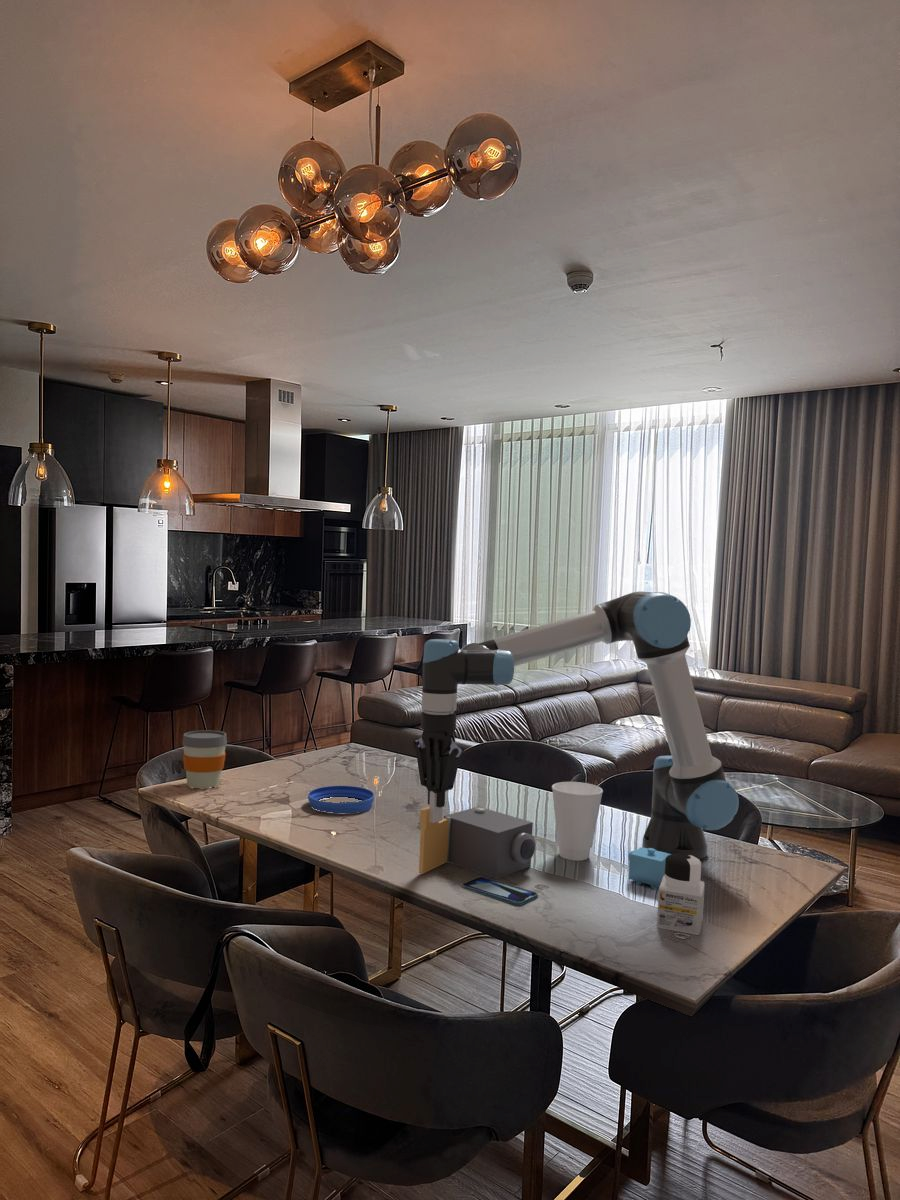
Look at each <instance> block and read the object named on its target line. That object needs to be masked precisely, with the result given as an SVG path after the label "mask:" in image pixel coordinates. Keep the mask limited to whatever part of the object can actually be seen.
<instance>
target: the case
mask: <svg viewBox="0 0 900 1200" xmlns="http://www.w3.org/2000/svg"><path fill="white" fill-rule="evenodd" d="M445 817H451V821H450V843H449V862H448V863H450V864H454V865H456V866H458V867H461V868H464V869H467V870H470V871H473V872H476V873H478V874H480V875H484V876H487V878H488V877H489V878H490V879H493V880H498V879H501V878H504V877H507V876H509V875H512V874H514V873H515V874H516V873H517V872H520V871H522V870H525V869H529V868H531V867H532V866H531V864H532V858H533V856H534V854H535V851H536V839H535V836H534V835H533V827H534V826H533V823H534V822H532V821H529V820H526V819H524V818H523V819H522V818H519V817H516V816H513V815H508V814H505V813H502V812H499V811H495V810H492V809H489V808H485V807H481V806H476V807H472V808H468V809H464V810H459V811H457V812H453V813H450V814H449V813H448V814H445V815H444V816H443V819H445Z"/></svg>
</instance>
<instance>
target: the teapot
mask: <svg viewBox="0 0 900 1200" xmlns="http://www.w3.org/2000/svg"><path fill="white" fill-rule="evenodd" d="M668 855H671V854H669V853H664V852H660V851H656V850H655V849H653V848H648V849H647V848H643V847H642V846H641V847H639V848H637V849H636V850H632V851H629V853H628V856H627V857H628V861H629V862H628V863H629V865H628V880H630V881H635V882H634V884H635V885H637V886H642V885H643V884H646V885H648V886H649V885H650V888H651V889H652V890H659V887H660V884H661V882H662V879H663V876H664V875H665V859H666V857H667V856H668Z"/></svg>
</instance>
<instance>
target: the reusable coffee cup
mask: <svg viewBox="0 0 900 1200" xmlns="http://www.w3.org/2000/svg"><path fill="white" fill-rule="evenodd" d="M227 737H228V736H227V733H226V732H224V731H220V730H210V729H209V730H208V729H206V730H192V731H187V732H184V734H183V738H182V746H183V753H182V759H183V769H184V770H185V774H186V783H187V784H186V785H188V786H189V787H193V788H209V787H215V786H218V785H219V786H220V781H221V777H222V776H221V775H222V770H223V769H224V767H225V761H226V755H227V754H226V747H227V744H228V740H227ZM188 786H187V787H188ZM219 786H218V787H219ZM189 787H188V788H189ZM193 788H192V789H193ZM215 788H216V787H215Z"/></svg>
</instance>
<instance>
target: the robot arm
mask: <svg viewBox="0 0 900 1200" xmlns="http://www.w3.org/2000/svg"><path fill="white" fill-rule="evenodd" d="M691 625H692V618H691V614H690V612H689V609H688V608H687V606H686V605H685V604H684V602H683V601H682V600H681V599H679V598H678V597H676V596H674V595H671V594H669V593H668V592H667V593H666V592H662V591H634V592H633V591H632V592H630V593H627V594H624V595H622V596H618V597H616V598H612V599H611V600H608V601H606V602H602V603H598V604H596V605H594V607H593V609H592V610H589V611H587V612H586V611H585V612H583V613H579V614H575V615H573V616H568V617H566V618H561V619H558V620H555V621H552V622H548V623H543V624H541V625H538V626H537V625H536V626H534V627H531V628H530V627H529V628H527V629H524V630H520V631H517V632H513V633H509V634H506V635H502V636H499V637H495V638H492V639H488V640H485V641H481V642H471V643H468V644H465V645H463V647H461V648H460V646H459V644H460V643H459V642H458V641H457V640H454V639H446V638H445V639H444V638H443V639H442V638H434V639H428V640H426V641H425V643H424V645H423V646H424V647H423V657H422V682H421V683H422V686H421V687H422V689H421V691H422V692H421V694H422V695H421V710H422V711H423V712H422V713H421V716H420V729H421V730H422V733H421V737H420V738H418V739H416V740H413V741H412V745H413V749H414V750H415V753H416V760H417V768H418V775H419V776H418V777H419V781H420V785H421V786H422V787H425V788H426V790H427V806H430V807H429V810H430V815H429V822H432V823H435V822H439V821H442V819H443V810H444V809H443V807H445V805H446V792H447V791H450V790H453V789H454V786H455V782H456V776H457V773H458V768H459V765H460V760H461V758H462V756H463V754H464V752H465V749H464V748H463V747H461V746H460V747H459V745H457V744H456V738H455V731H456V730H457V729H456V728H457V713H456V712H455V711H457V706H458V705H457V703H458V701H457V700H458V685H484V686H485V685H486V686H487V685H488V686H495V687H497V686H501V685H502V686H503V685H505V686H506V685H510V684H511V683H512V681H513V679H514V676H515V667H518V666H521V665H524V664H528V663H531V662H534V661H538V660H542V659H544V658H545V659H546V658H548V657H552V656H556V655H559V654H562V653H563V654H564V653H566V652H569V651H573V650H576V649H580V648H583V647H588V646H591V645H593V644H597V643H600V642H603V643H604V644H606V645H609V644H612V643H617V642H623V641H629V642H630V641H632V643H633V645H634V649H635V652H636V656H637V659H638V660H640V661H641V662H643V663H645V664H646V666H647V670H648V674H649V677H650V682H651V685H652V688H653V693H654V695H655V696H654V697H655V699H656V704H657V707H658V711H659V715H660V718H661V723H662V725H663V729H664V733H665V737H666V741H667V744H668V748H669V751H670V755H660V756H657V757H656V758H655V759H654V762H653V769H652V773H653V774H652V790H651V791H652V794H651V796H652V797H651V813H650V814H651V815H650V818H649V821H648V824H647V827H646V828H645V831H644V834H643V837H642V846H641V847H643V848H647V849H648V848H653V849H655V850H656V851H660V852H664V853H669V854H674V853H683V854H689V855H692V856H694V857H696V858H698V859H699V860H700V861H701V860H703V859H705V858H706V857H707V856H708V844H707V843H708V842H707V839H706V836H705V833H704V830H706V831H716V830H720V829H722V828H724V827H726V826H727V825H729V824H730V823H731V822H732V821H733V820H734V817H735V815H736V814H737V813H738V810H739V805H740V802H739V801H740V800H739V795H738V792H737V790H736V789H735V788H734V786H733V785H732V784H731V783H730V782H729V781H727V780H726V775H725V772H724V768H723V763H722V761H721V760H720V759H719V758H717V757H716V756H713V755H712V750H711V748H710V743H709V740H708V736H707V732H706V729H705V725H704V722H703V718H702V717H703V716H702V714H701V710H700V706H699V702H698V699H697V694H696V692H695V691H696V690H695V687H694V683H693V679H692V676H691V672H690V669H689V666H688V662H687V657H686V654H687V651H688V650H689V648H690V646H691V644H690V641H689V637H688V634H689V632H690V630H691Z"/></svg>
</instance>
